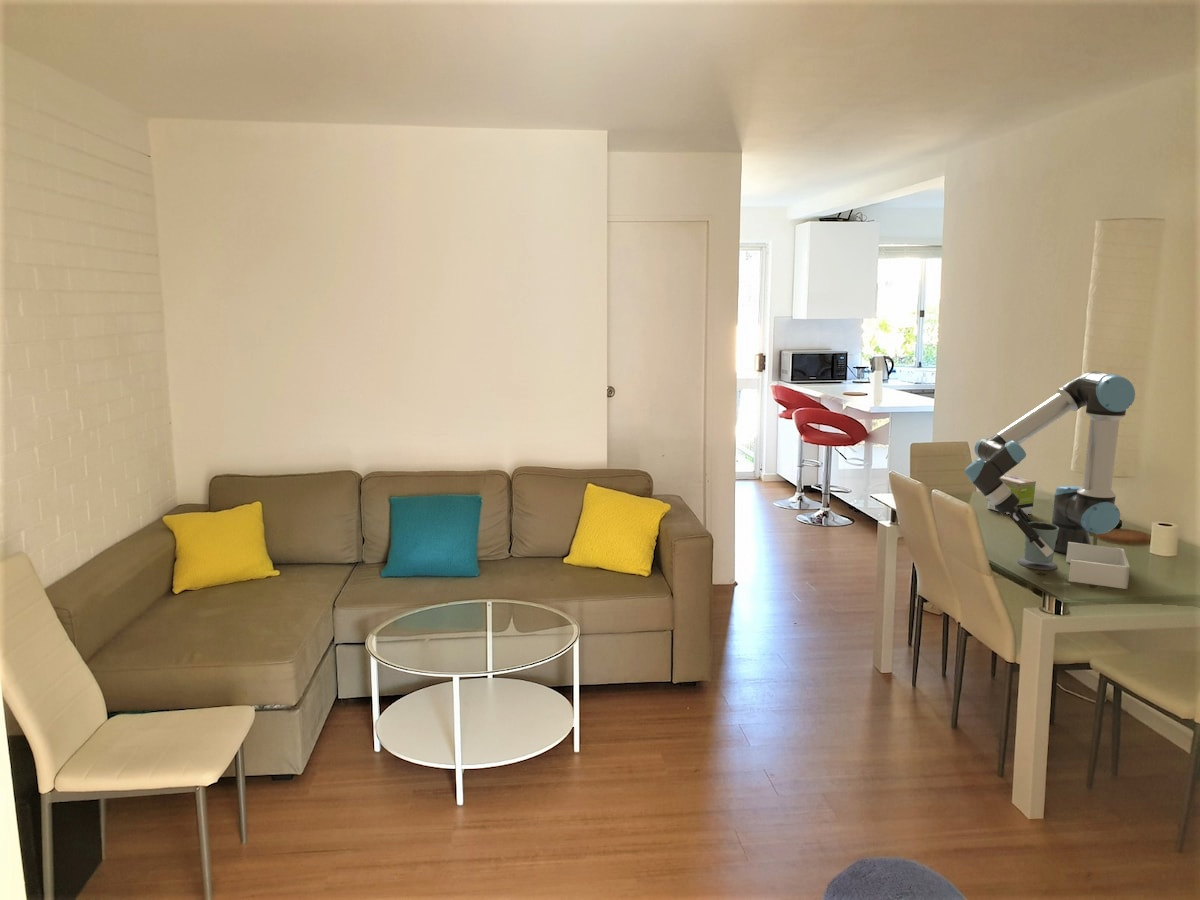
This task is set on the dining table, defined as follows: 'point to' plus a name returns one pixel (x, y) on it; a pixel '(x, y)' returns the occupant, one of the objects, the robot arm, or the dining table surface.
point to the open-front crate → (1098, 565)
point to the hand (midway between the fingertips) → (1049, 550)
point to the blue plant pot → (1048, 535)
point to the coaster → (1037, 565)
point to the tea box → (1019, 492)
